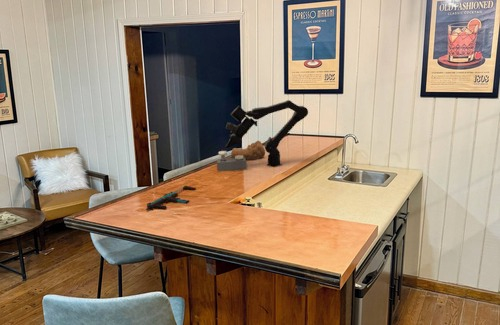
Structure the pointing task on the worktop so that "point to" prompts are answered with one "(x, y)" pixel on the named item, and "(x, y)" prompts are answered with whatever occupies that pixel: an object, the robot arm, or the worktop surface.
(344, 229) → the worktop surface
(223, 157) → the knob
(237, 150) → the brown rough lump
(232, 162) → the knob mount
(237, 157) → the knob
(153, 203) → the gun
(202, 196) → the worktop surface
